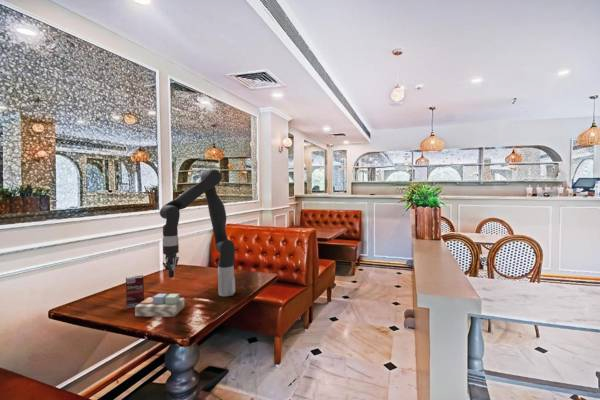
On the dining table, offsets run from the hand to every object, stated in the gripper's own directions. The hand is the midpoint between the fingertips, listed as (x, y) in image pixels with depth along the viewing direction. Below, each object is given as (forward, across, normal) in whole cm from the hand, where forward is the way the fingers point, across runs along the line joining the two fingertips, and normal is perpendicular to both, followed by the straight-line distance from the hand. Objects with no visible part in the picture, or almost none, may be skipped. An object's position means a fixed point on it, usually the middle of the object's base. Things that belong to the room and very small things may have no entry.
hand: (171, 277), depth 156 cm
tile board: (+18, 0, +6) cm, 19 cm away
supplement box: (+18, +7, +24) cm, 31 cm away
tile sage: (+14, 0, 0) cm, 14 cm away
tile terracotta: (+17, 0, +13) cm, 21 cm away
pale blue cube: (+14, 0, +6) cm, 15 cm away
